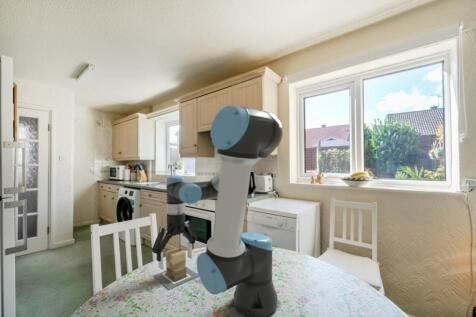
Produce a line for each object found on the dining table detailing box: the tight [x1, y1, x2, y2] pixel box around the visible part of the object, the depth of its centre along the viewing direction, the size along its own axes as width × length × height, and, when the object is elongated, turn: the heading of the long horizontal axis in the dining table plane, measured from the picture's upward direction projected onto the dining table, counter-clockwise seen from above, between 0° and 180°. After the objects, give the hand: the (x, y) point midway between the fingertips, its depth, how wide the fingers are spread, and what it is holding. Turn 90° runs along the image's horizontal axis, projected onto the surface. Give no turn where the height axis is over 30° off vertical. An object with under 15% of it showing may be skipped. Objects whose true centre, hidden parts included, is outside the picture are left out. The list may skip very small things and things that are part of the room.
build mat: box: [152, 266, 200, 291], centre depth 92 cm, size 14×14×1 cm
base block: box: [165, 265, 187, 281], centre depth 92 cm, size 8×5×4 cm, turn 45°
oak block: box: [165, 247, 187, 271], centre depth 93 cm, size 6×6×6 cm
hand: (176, 262), depth 92 cm, fingers open, 13 cm apart
